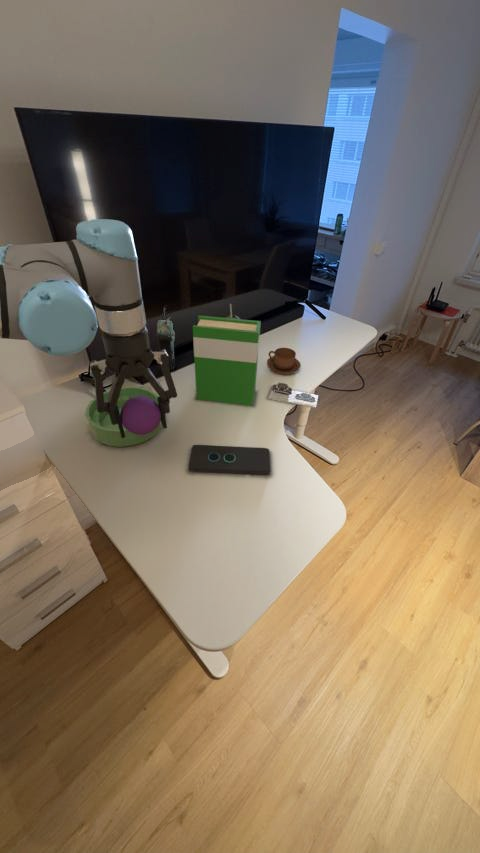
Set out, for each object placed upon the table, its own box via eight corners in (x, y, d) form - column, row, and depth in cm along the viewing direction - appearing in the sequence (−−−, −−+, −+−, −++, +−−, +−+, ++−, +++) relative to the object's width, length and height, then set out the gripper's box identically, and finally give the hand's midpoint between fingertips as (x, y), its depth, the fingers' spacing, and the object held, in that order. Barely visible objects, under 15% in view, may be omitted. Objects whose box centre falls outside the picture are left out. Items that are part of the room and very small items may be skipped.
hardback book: (196, 399, 107) (192, 326, 91) (201, 386, 112) (198, 315, 96) (252, 405, 105) (258, 332, 90) (255, 391, 111) (260, 321, 95)
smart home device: (192, 443, 89) (269, 447, 89) (192, 448, 90) (268, 452, 90) (188, 467, 83) (270, 471, 83) (188, 472, 84) (269, 476, 84)
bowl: (75, 435, 92) (69, 418, 88) (120, 396, 106) (116, 380, 102) (137, 456, 87) (134, 439, 83) (175, 412, 101) (174, 396, 97)
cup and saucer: (264, 374, 119) (265, 358, 115) (268, 357, 128) (270, 342, 124) (298, 379, 118) (301, 363, 114) (300, 361, 127) (303, 346, 123)
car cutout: (268, 398, 108) (269, 386, 106) (272, 387, 113) (274, 375, 110) (315, 408, 106) (318, 396, 103) (318, 396, 111) (320, 384, 108)
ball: (116, 436, 71) (107, 405, 65) (138, 414, 76) (132, 384, 71) (149, 447, 69) (143, 416, 63) (170, 424, 74) (166, 394, 69)
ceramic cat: (176, 372, 118) (170, 316, 105) (157, 372, 117) (149, 316, 104) (180, 345, 133) (176, 293, 120) (163, 344, 132) (157, 292, 119)
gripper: (178, 311, 63) (186, 408, 78) (56, 326, 57) (90, 429, 72) (190, 328, 58) (196, 428, 73) (57, 347, 52) (93, 453, 67)
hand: (143, 428), depth 72 cm, fingers closed on ball, 8 cm apart
